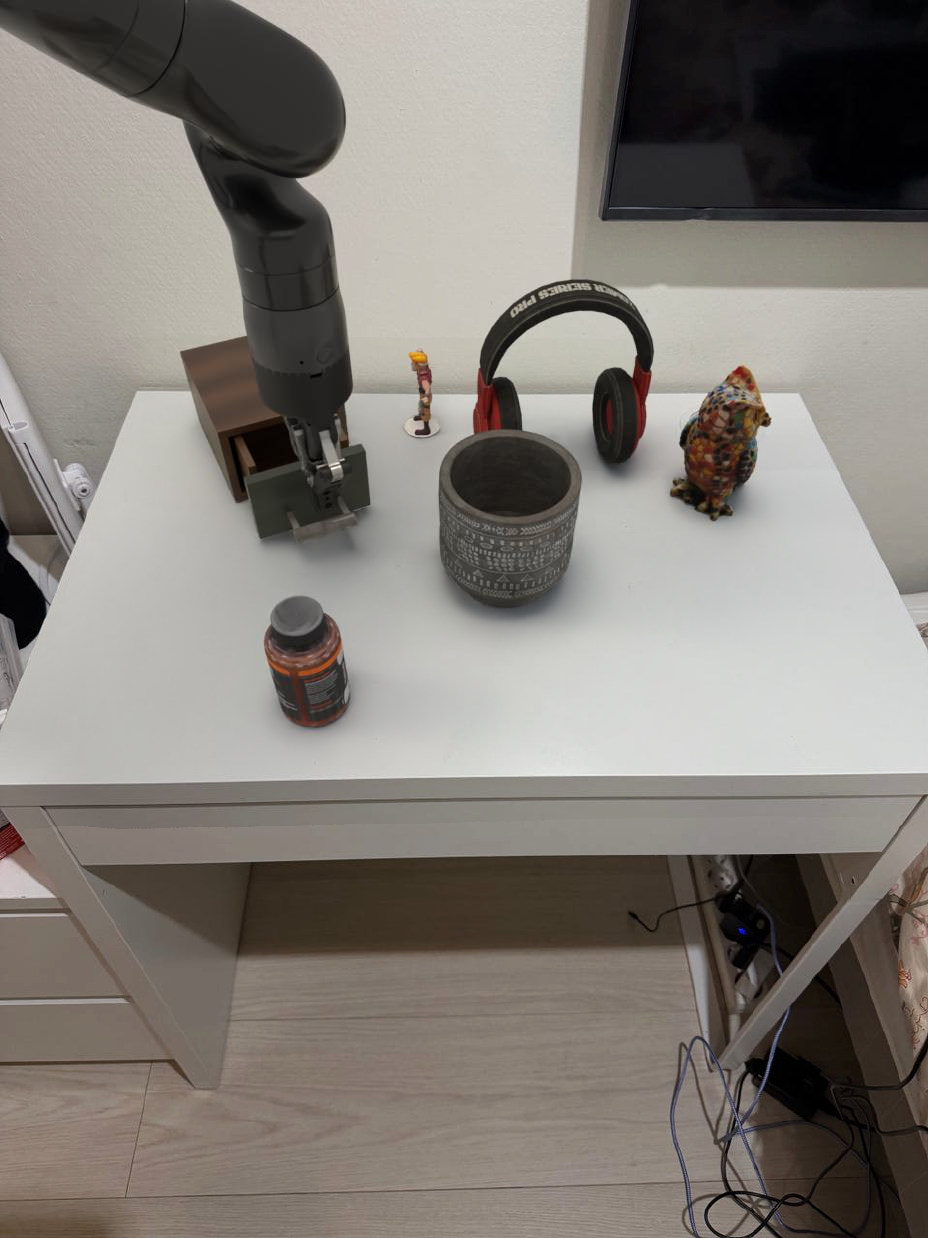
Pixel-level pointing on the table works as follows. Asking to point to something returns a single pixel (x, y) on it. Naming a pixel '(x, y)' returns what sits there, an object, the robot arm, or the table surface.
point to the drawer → (294, 485)
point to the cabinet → (229, 401)
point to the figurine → (721, 444)
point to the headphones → (615, 389)
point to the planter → (507, 515)
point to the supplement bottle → (307, 662)
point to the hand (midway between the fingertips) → (325, 507)
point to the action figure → (422, 398)
